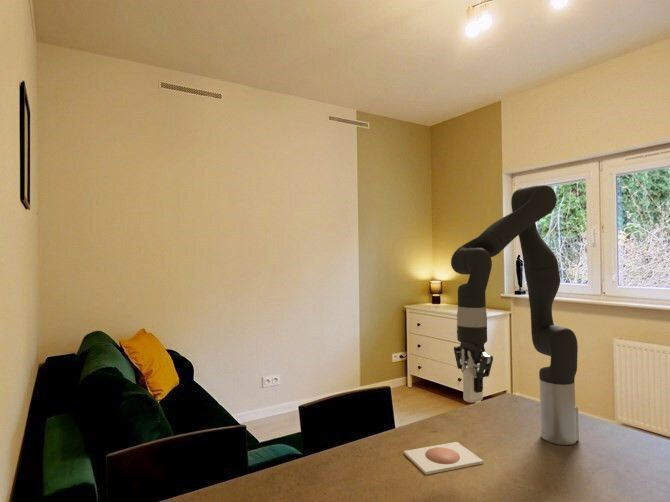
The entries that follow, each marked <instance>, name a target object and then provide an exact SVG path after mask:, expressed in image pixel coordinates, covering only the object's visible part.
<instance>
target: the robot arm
mask: <svg viewBox="0 0 670 502" xmlns="http://www.w3.org/2000/svg"><path fill="white" fill-rule="evenodd" d="M557 203H558V202H557V194H556V191H555V190H554V188H553V187H552V186H550V185H548V184H536V185H532V186H527V187H523V188H518V189H516V190H515V191H514V192H513V193H512V195H511V201H510V204H511V210H512V212H510V213H509V214H507V215H505V216H503V217H502V218H499V219H498V220H496V221H494V222H493V223H491V225H489V226H488V227H487V228H486V229H485V230H484V231H483V232H481V233H480V234H479V235H478V236H477V237H475V238H473V239H471V240H470V241H468V242H466V243H464V244H463V245H461V246H460V247H458V248H457V249H456V250H455V251H454V253H453V254H452V255H451V258H450V259H451V260H450V266H451V269H452V271H454V272H455V273H457V274H460V275H469V277H468V280H467V282H466V283H462V284H460V285H458V287H457V313H456V339H457V341H458V342H459V343H460V344H459V346H454V347H453V352H454V357H455V362H456V365H457V366H456V367H457V368H458V370H460V371H461V372H462V374H463V372H464V370H465V369H466V368H468V359H469V360H470V366H471V368H472V369H473V375H474V392H476V393H478V392H482V391H483V392H484V390H483V389H484V378H486V377H490V373H491V371H492V369H491V368H492V366H493V365H492V364H493V360H494V356H493V355H488V354H487V353H486V348H485V344H486V343H487V342H488V315H487V314H488V313H487V309H486V308H487V307H486V306H487V304H486V303H487V302H486V301H487V300H486V298H487V297H486V290H487V286H488V284H489V280H490V277H491V271H492V265H493V263H492V262H493V261H492V258H493V257H495V256H498V254H500V253H501V252H502V251H503V250H504V249H505V248H506V247H507V246H508V245H509V244H510V243H511V242H512V241H513V240H514V239H516V238H517V237H518V239H519V244H520V248H521V249H520V250H521V255H522V262H523V270H524V277H525V281H526V286H527V293H528V300H529V301H528V303H529V309H530V310H529V312H530V330H531V332H530V333H531V341H532V344H533V346H534V350H536V352H539V353H540V354H542V355H545V356H547V357H550V363H549V366H545V367H542V368H540V369H539V373H538V374H539V376H538V377H539V378H538V379H539V402H540V403H539V407H540V409H539V411H540V436H541V438H542V439H543V440H545V441H546V442H549V443H551V444H556V445H559V446H560V445H562V446H570V445H574V444H576V443H577V441H580V428H579V427H580V425H579V408H578V406H576V389H575V387H576V386H575V381H576V379H575V377H576V375H577V371H578V347H579V346H578V339H577V336H576V333H575V332H574V331H573V330H572V329H570V328H568V327H564V326H558V325H555V323H554V318H553V303H554V301H555V299H556V295H557V293H558V291H559V288H560V285H561V275H560V267H559V263H558V258H557V257H556V255H555V253H554V252H553V250H552V249H551V248H550V247H549V246H548V244H547V243H546V241H544V239H543V238H542V236H541V235H540V233H539V231H538V227H537V224H536V223H537V222H538V221H540V220H542V219H544V218H545V217H546V216H548V215H550V214H551V213H552V212H553V211H554V210H555V208H556V206H557ZM475 364H477V365H475ZM477 368H479V372H477Z"/></svg>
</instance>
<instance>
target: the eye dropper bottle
mask: <svg viewBox="0 0 670 502" xmlns="http://www.w3.org/2000/svg"><path fill="white" fill-rule="evenodd" d="M475 365H478V364H475ZM467 366H468V368H466V369H465V370H464V372H463V373H462V391H463V393H462V395H463V398H462V399H463V400H464V401H465V402H468V403H478V402H480V401H482V400H483V398H484V390H483V391H482V392H478V393H476V392H474V375H473V369H472V368H471V366H470V360H469V359H468V365H467ZM477 372H479V368H477Z"/></svg>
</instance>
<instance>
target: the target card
mask: <svg viewBox="0 0 670 502" xmlns="http://www.w3.org/2000/svg"><path fill="white" fill-rule="evenodd" d="M403 453H404V455H405V456H406V457H407V458H408V459H409V460H410V461H411V462H412V463H413V464H414V465H415V466H416V467H418V469H419V470H420V471H421V472H422V473H424V475H426V476H427V475H432V474H436V473H442V472H446V471H447V472H448V471H452V470H457V469H461V468H467V467H472V466H478V465H483V464H484V460H483V459H482V458H480V457H478V456H477V455H476V454H475V453H473V451H470V450H469V449H468V448H466V447H465V446H464V445H462V444H461V443H459V442H458V441H453V442H448V443H442V444H437V445H431V446H425V447H419V448H414V449H407V450H403Z"/></svg>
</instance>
